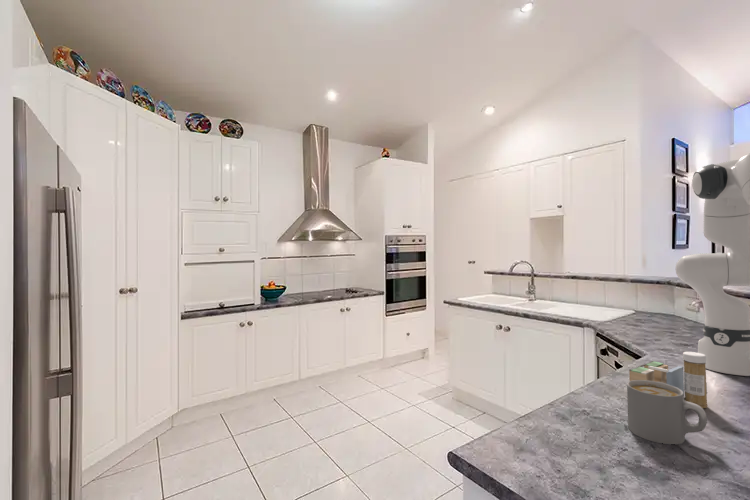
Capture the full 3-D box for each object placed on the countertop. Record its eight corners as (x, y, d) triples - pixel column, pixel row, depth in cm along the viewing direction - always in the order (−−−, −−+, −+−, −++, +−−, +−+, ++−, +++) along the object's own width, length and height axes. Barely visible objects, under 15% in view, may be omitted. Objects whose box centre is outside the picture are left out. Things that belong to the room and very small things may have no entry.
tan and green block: (652, 385, 108) (651, 361, 108) (668, 389, 104) (668, 364, 104) (629, 395, 100) (629, 369, 100) (646, 400, 97) (645, 373, 97)
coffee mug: (620, 430, 81) (619, 386, 81) (638, 418, 87) (637, 376, 87) (698, 457, 70) (696, 406, 70) (712, 441, 76) (711, 394, 76)
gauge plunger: (663, 390, 103) (662, 360, 103) (684, 395, 99) (683, 364, 99) (649, 397, 98) (648, 366, 98) (670, 403, 94) (669, 370, 94)
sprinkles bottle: (710, 406, 93) (708, 353, 93) (704, 410, 90) (702, 356, 90) (687, 400, 97) (686, 350, 97) (681, 404, 94) (679, 352, 94)
